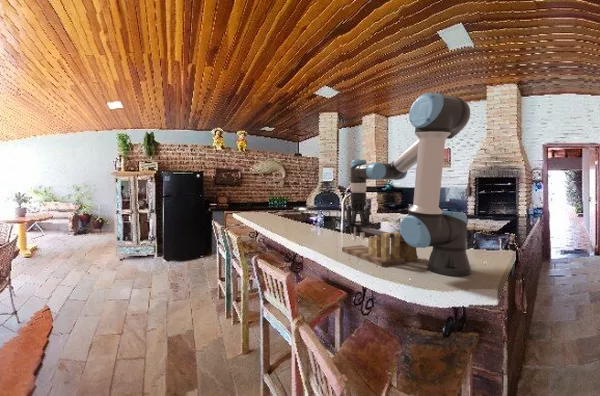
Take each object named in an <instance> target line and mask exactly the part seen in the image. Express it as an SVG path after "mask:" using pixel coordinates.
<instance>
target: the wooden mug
mask: <svg viewBox="0 0 600 396" xmlns="http://www.w3.org/2000/svg"><path fill="white" fill-rule="evenodd" d="M417 254H418V251H417V248H415V247H412V246H410V245H408V244H407V243H406V242H405V240H404V238H403V237H402V235H401V233H400V250H399V257H401V258H404V259H405V263H406V262H408V263H414V262H418V261H419V257H418V255H417Z"/></svg>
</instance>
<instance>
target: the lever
mask: <svg viewBox="0 0 600 396" xmlns="http://www.w3.org/2000/svg"><path fill="white" fill-rule="evenodd" d="M354 227H356V234H357V233H358V234H360V233H361V232H365V233H369V234H373V235H381V233H388V234H390V239H391V238H394V234H393V233H391V232H388V231H385V230H380V229H374V228H370V227H368V226H366V227H365V224H363V223H361V222H355V226H354Z"/></svg>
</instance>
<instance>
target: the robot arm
mask: <svg viewBox="0 0 600 396" xmlns="http://www.w3.org/2000/svg"><path fill="white" fill-rule="evenodd" d="M470 117H471V108H470V105H469V103H468V102H467V101H466V100H465V99H463V98H462V97H458V96H452V95H451V96H450V95H447V94H443V93H439V92H425V93H423V94H421V95H420V96H418V97H417V98H416V100H415V101H414V102H413V103H412V105H411V107H410V108H409V113H408V119H409V120H408V121H409V123H410V124H411V125H412V126H413V128H414V129H415V130H414V135H415V136H416V137H417V139H416V140H415V141H414V142H413V143H412V144H411V145H409V146H408V147H407V148H406V149H405V150H404V151H403V152H401V153H400V154H399V155H398V157H396V158H395V159H394V160H393V161H391V162H390V163H383V162H374V161H373V162H369V163H367V160H366V159H353V160H351V162H350V168H349V169H350V193H349V194H350V203H349V204H345V210H346V211H345V212H346V214H345V215H346V217H345V218H346V220H345V221H346V224H345V225H346V226H349V232H350V235H351V237H350V238H351V239H350V240H352V241H353V242H354V241H356V239H357V233H356V227H354V226H355V223H356V221H357V214H359V218H360V223H363V224H365V227H368V226H369V225H370V215H371V214H370V212H371V211H370V209H371V208H372V207H371V206H372V205H371V204H369V203H367V201H366V200H367V181H368V180H371V181H372V180H374V181H377V180H384V181H386V180H387V181H388V180H389V181H390V180H392V181H398V180H404V179H405V178H406V177H407V175H408V170H410V169H411V168H412V167H413V166H415V165H416V168H415V169H416V170H415V181H414V192H413V194H414V195H413V204H412V205H411V206H410V207H408V210H407V215H406V216H405V217H403V219H402V220H401V221H400V225H399V230H400V234H401V235H402V237H403V238H404V240H405V242H406V243H407V244H408V245H410V246H412V247H415V248H416V249H417V248H419V249H420V248H421V249H426V248H428V247H429V248H430V247H432V250H431V252H430V255H429V259H428V261H427V264H426V265H427V266H426V268H427V270H429V271H430V272H433V273H435V274H440V275H444V276H455V277H459V276H460V277H461V276H462V277H464V276H468V275H471V273H472V266H471V265H470V260H469V257H468V254H467V236H468V235H467V234H468V232H467V231H468V221H467V220H468V216H467V214H466V213H464V212H459V211H449V210H442V209H441V208H440V207H439V206H440V196H441V189H442V188H441V187H442V176H443V167H444V156H445V147H446V145H445V144H446V140H451V139H453V138H454V137H456V136H457V135H458V134H459V133H461V132H462V130H463V129H465V127H467V124H468V123H469V121H470ZM365 233H366V232H361V233H359V239H360V240H363V241H364V240H365Z"/></svg>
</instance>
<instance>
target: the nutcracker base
mask: <svg viewBox="0 0 600 396" xmlns="http://www.w3.org/2000/svg"><path fill="white" fill-rule="evenodd" d="M390 233H393V234H394V238H390V234H388V233H381V239H373V238H374V236H371V237H368V246H366V245H362V244H361V245H359V244H358V245H352V246H342V247H341V252H343V253H345V254H349V255H351V256H353V257H356V258H358V259H362V260H364V261H367V262H369V263H372V264H373V265H377V266H379V267H388V266H396V265H402V264H405V263H406V261H405V259H404V258H401V257H399V250H400V234H401V232H397V231H391V232H390Z"/></svg>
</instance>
